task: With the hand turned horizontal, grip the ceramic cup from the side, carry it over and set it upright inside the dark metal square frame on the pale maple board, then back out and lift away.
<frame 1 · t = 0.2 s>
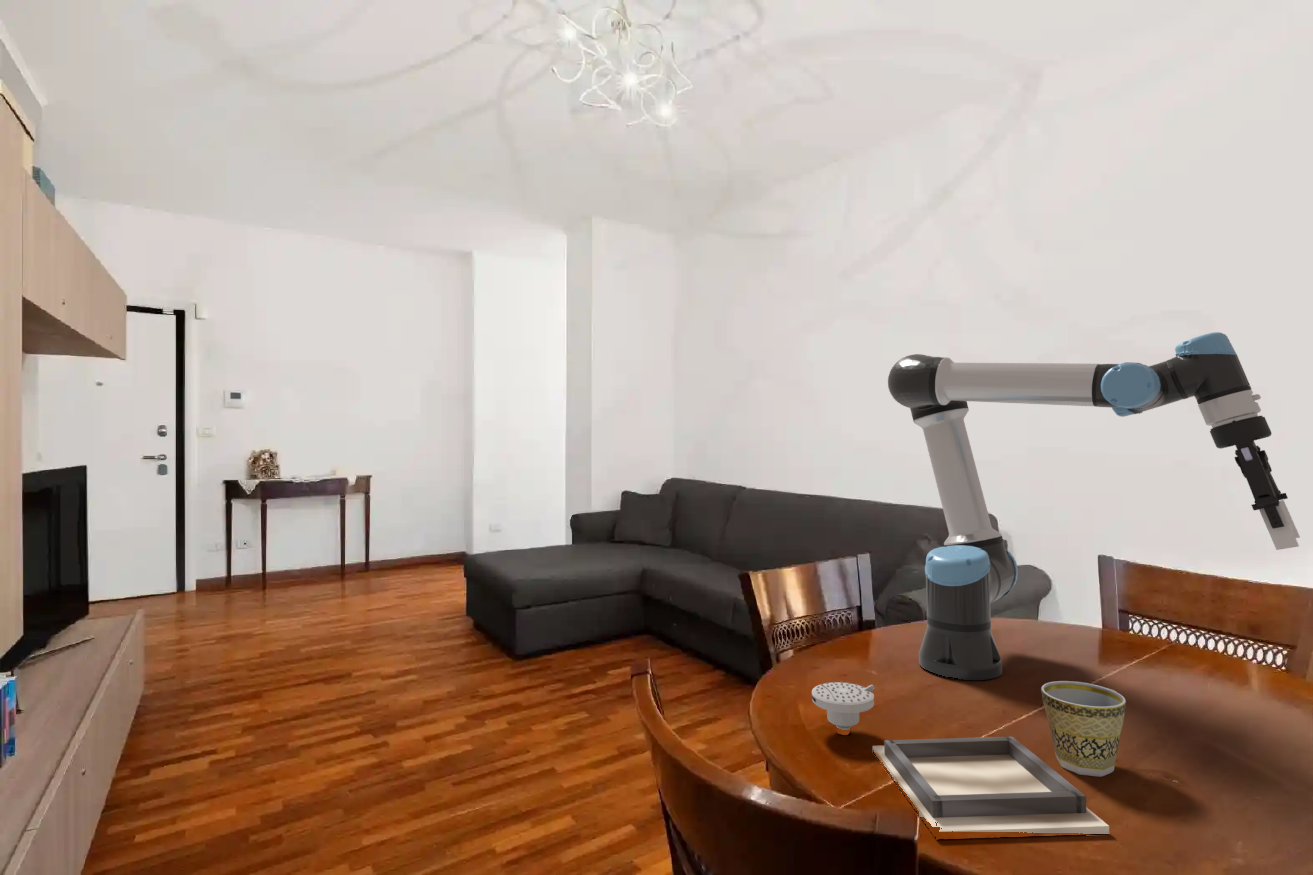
hand: (1288, 543, 111), 27 cm above the table, tool tilted 15°, fingers open, 13 cm apart
ceramic cup: (1090, 764, 95), on the table
showerhead: (845, 733, 107), on the table
square frame board: (976, 788, 89), on the table
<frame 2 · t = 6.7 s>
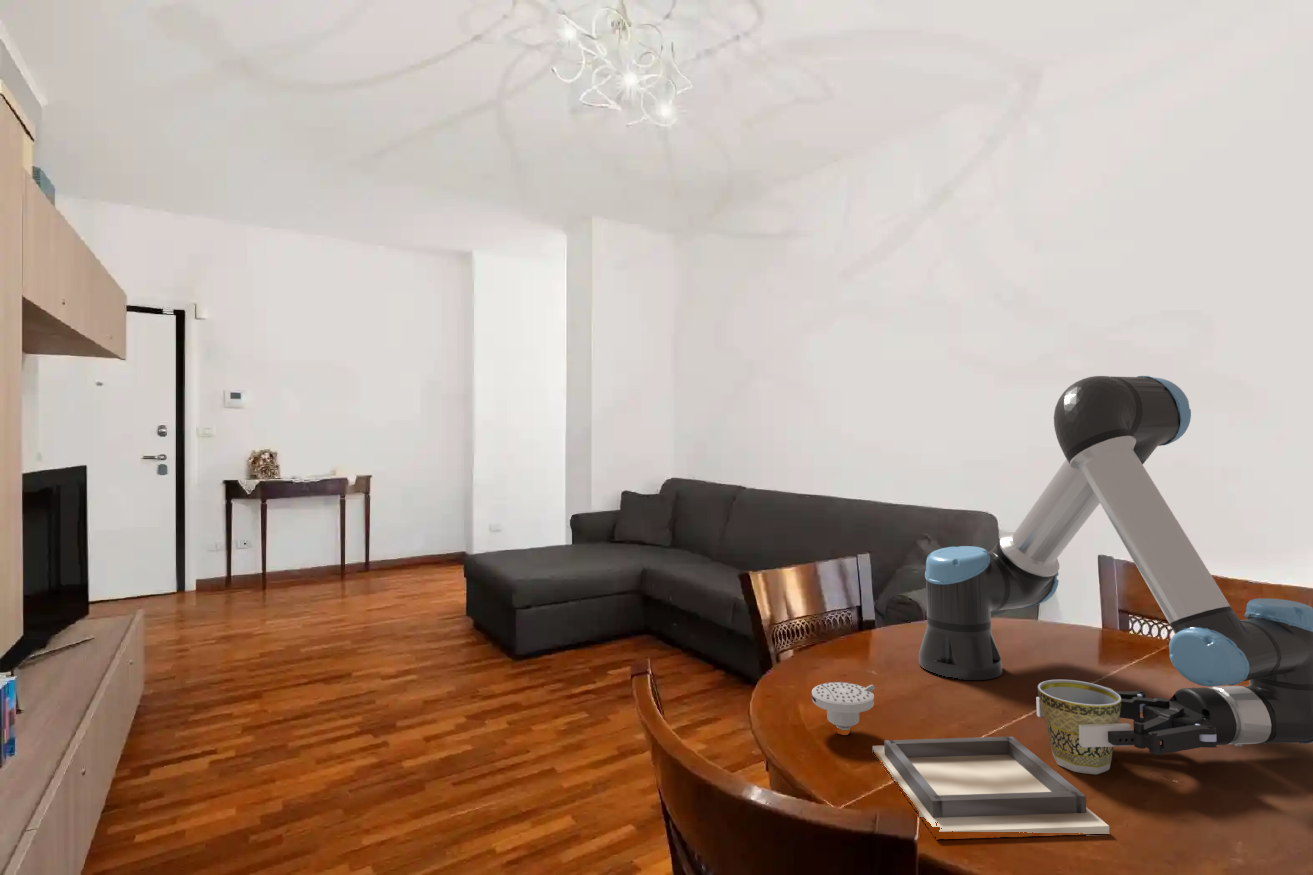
hand: (1058, 720, 95), 6 cm above the table, tool horizontal, fingers closed on ceramic cup, 9 cm apart
ceramic cup: (1087, 762, 96), on the table, touching gripper
everything else where it was.
when the fingers open (8 cm above the table, at t = 12.5 s): ceramic cup drops 1 cm, resting on square frame board.
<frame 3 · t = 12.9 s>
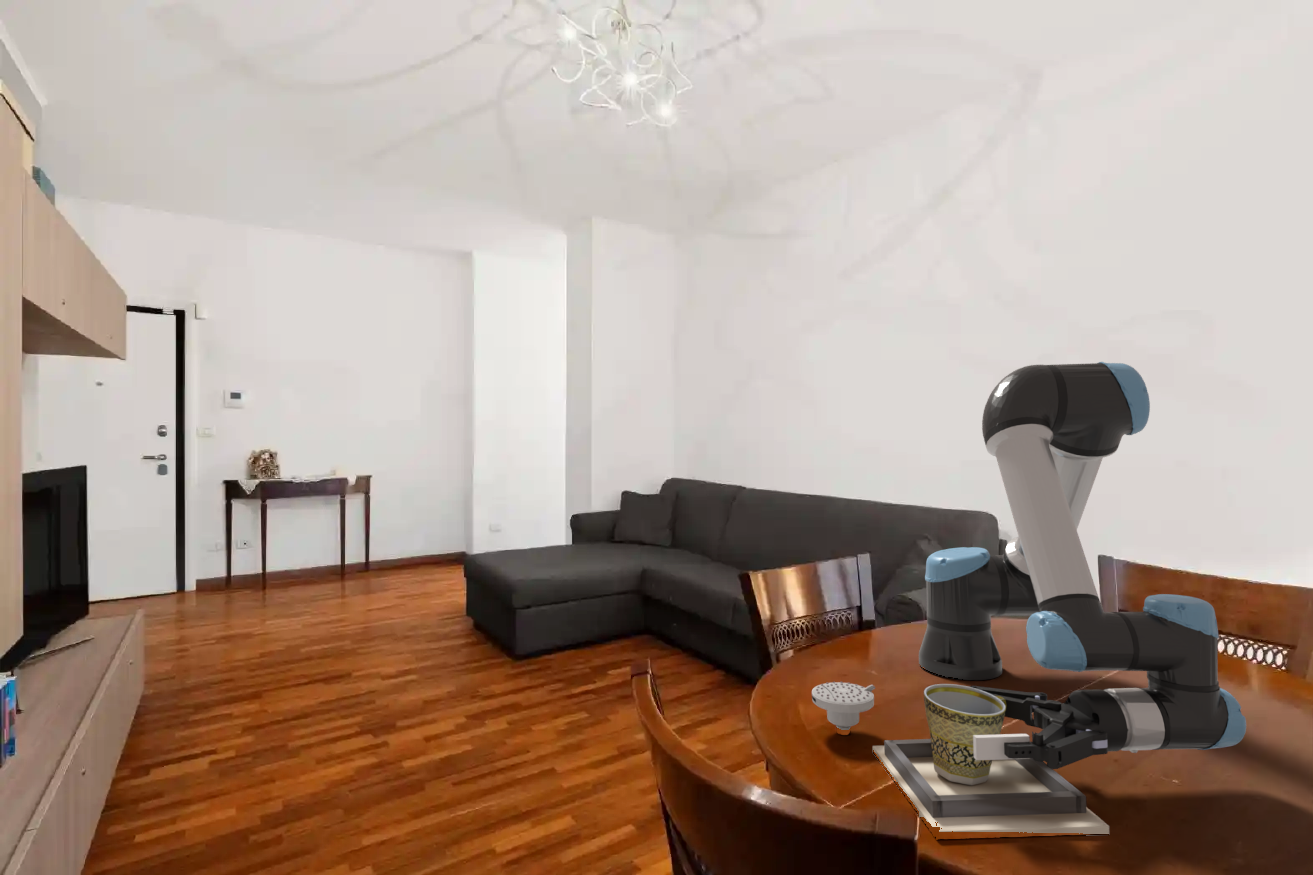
hand: (949, 724, 89), 8 cm above the table, tool horizontal, fingers open, 13 cm apart
ceramic cup: (967, 771, 92), point 1 cm above the table, touching gripper, square frame board
everything else where it was.
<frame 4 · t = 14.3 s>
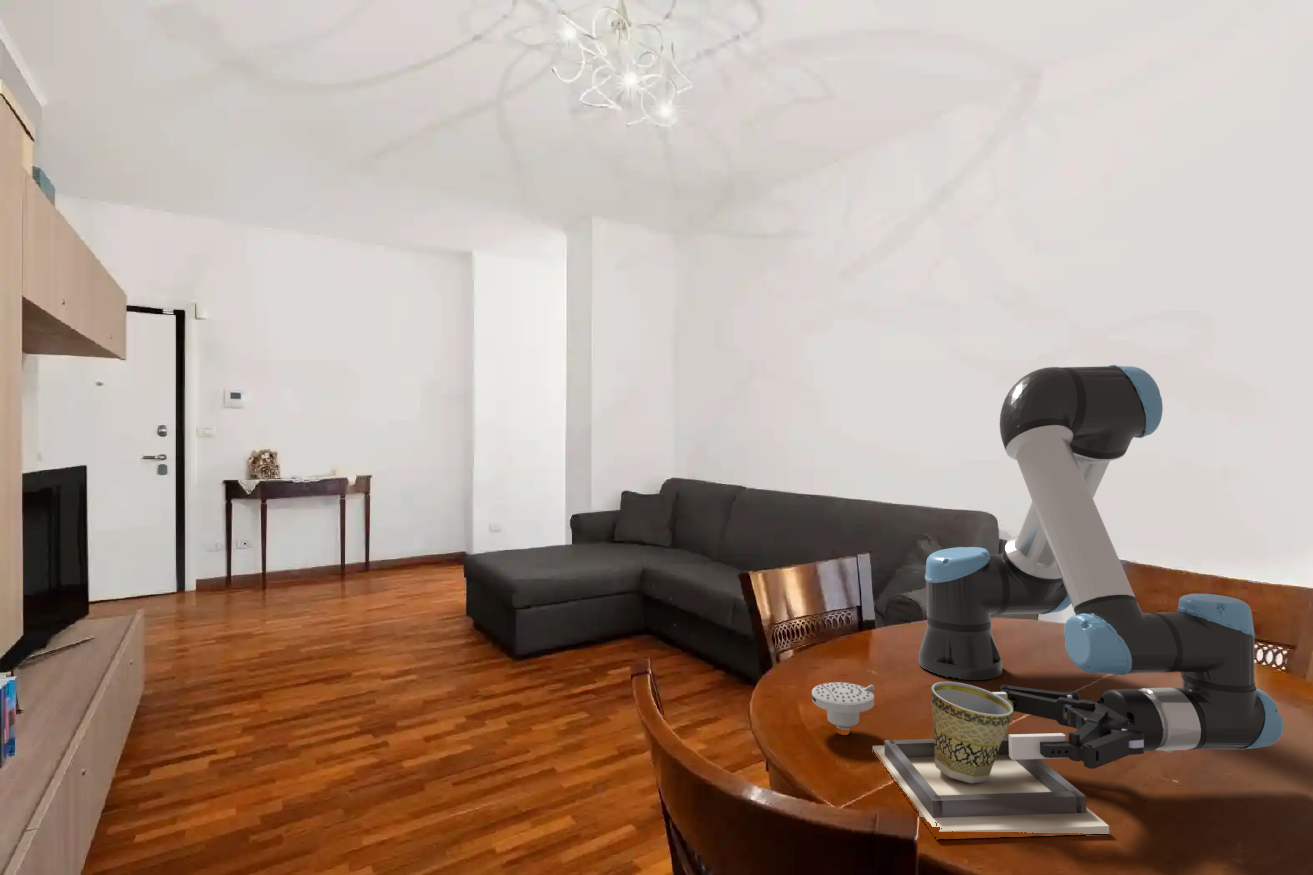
hand: (982, 723, 89), 9 cm above the table, tool horizontal, fingers open, 13 cm apart
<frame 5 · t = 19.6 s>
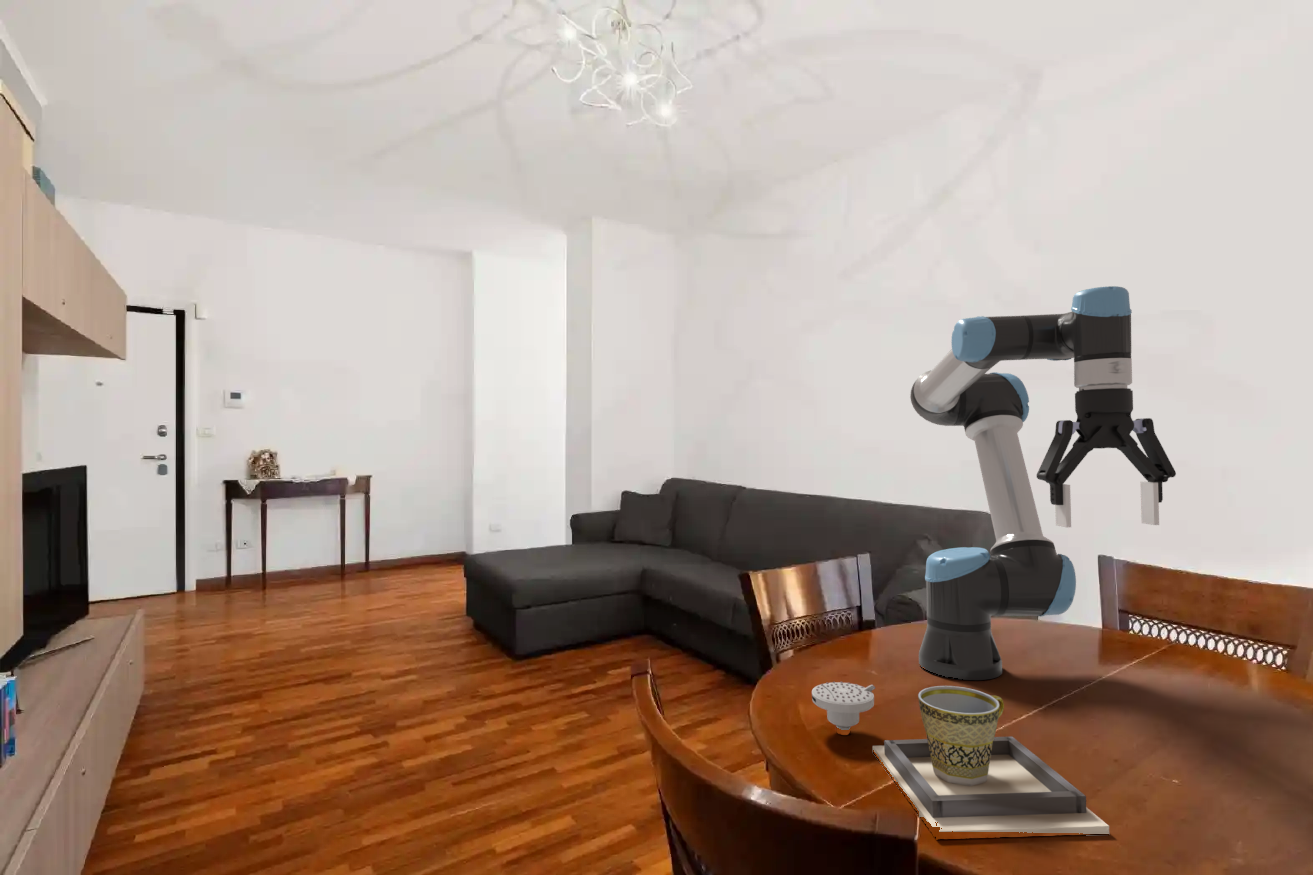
hand: (1106, 525, 106), 32 cm above the table, tool pointing down, fingers open, 13 cm apart
ceramic cup: (968, 772, 92), point 1 cm above the table, touching square frame board
everything else where it was.
at the end: ceramic cup inside the target area on the square frame board (2.5 cm from its centre), point 0.8 cm above the square frame board's base; ceramic cup tilted 0°; the gripper is holding nothing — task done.
